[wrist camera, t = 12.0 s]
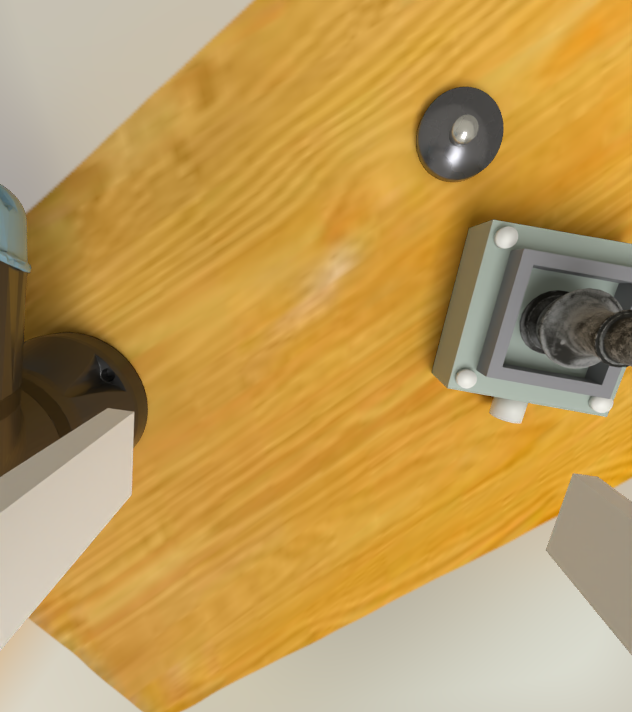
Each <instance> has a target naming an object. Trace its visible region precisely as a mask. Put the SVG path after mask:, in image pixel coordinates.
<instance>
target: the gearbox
mask: <svg viewBox="0 0 632 712" xmlns="http://www.w3.org/2000/svg"><path fill="white" fill-rule="evenodd" d="M586 288H592V289H598V290H602V291H604V292H607V293H609V294H611V295H612V296H613V297H614V298H615V299H616V300H617V301H618V302H619V304H620V306H621V307H622V309H623V310H632V244H629V243H623V242H617V241H612V240H606V239H600V238H595V237H589V236H583V235H578V234H572V233H566V232H561V231H555V230H549V229H544V228H538V227H532V226H527V225H521V224H515V223H510V222H504V221H498V220H491V221H488V222H485V223H482V224H479V225H476V226H474V227H471V228H469V230H468V234H467V238H466V242H465V246H464V250H463V254H462V257H461V261H460V265H459V269H458V273H457V277H456V281H455V284H454V288H453V292H452V296H451V300H450V304H449V308H448V312H447V315H446V319H445V323H444V327H443V331H442V335H441V339H440V343H439V346H438V350H437V354H436V358H435V362H434V366H433V370H432V374H433V375H434V376H435V377H436V378H437V379H439V380H440V381H441V382H442V383H443V384H444V385H445V386H446V387H447V388H449V389H455V390H460V391H466V392H471V393H477V394H482V395H488V396H494V398H493V402H492V405H491V408H490V412H489V413H490V414H491V415H493V416H494V417H496V418H498V419H501V420H504V421H507V422H511V423H521V422H522V419H523V416H524V413H525V410H526V407H527V404H528V403H532V404H538V405H543V406H549V407H555V408H560V409H566V410H571V411H577V412H582V413H588V414H593V415H599V416H604V417H607V415H608V413H609V410H610V409H611V408H612V406H613V400H614V397H615V395H616V392H617V390H618V387H619V384H620V382H621V379H622V377H623V374H624V372H625V369H626V367H620V368H618V367H612V366H609V365H607V364H605V363H603V362H602V361H601V362H599V363H597V364H595V365H592V366H589V367H586V368H578V369H573V368H566V367H563V366H561V365H558V364H556V363H554V362H553V361H552V360H551V359H549V358H548V357H547V355H546V354H541V353H538V352H536V351H533V350H532V349H530V348H529V347H528V346H527V345H526V344H525V343H524V341H523V339H522V337H521V334H520V319H521V316H522V313H523V311H524V310H525V308H526V306H527V305H528V304H529V303H530V302H531V301H532V300H533V299H534V298H536V297H537V296H539V295H540V294H543V293H546V292H548V291H555V290H560V291H567V292H572V291H575V290H577V289H586Z"/></svg>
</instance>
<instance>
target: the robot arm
mask: <svg viewBox="0 0 632 712" xmlns="http://www.w3.org/2000/svg"><path fill="white" fill-rule="evenodd" d="M30 271H31V265H30V264H29V263H28V258H27V218H26V214H25V211H24V208H23V206H22V204H21V203H20V201H19V200H18V199H17V198H16V196H15V195H14V194H13V193H11V191H9V190H8V189H7V188H6V187H4V186H2V185H1V184H0V650H1V649H2V648H3V647H4V646H5V645H6V643H7V642H8V641H9V640H10V639H11V637H12V636H13V635H14V634H15V633H16V631H17V630H18V629H19V628H20V627H21V626H22V624H23V623H24V622H25V621H26V620H27V618H28V617H29V616H30V615H31V614H32V613H33V611H34V610H35V609H36V608H37V607H38V605H39V604H40V603H41V602H42V601H43V599H44V598H45V597H46V596H47V595H48V594H49V592H50V591H51V590H52V589H53V588H54V586H55V585H56V584H57V583H58V582H59V580H60V579H61V578H62V577H63V576H64V574H65V573H66V572H67V571H68V570H69V569H70V567H71V566H72V565H73V564H74V563H75V561H76V560H77V559H78V558H79V557H80V555H81V554H82V553H83V552H84V551H85V550H86V548H87V547H88V546H89V545H90V544H91V542H92V541H93V540H94V539H95V538H96V536H97V535H98V534H99V533H100V532H101V531H102V529H103V528H104V527H105V526H106V525H107V523H108V522H109V521H110V520H111V519H112V517H113V516H114V515H115V514H116V513H117V512H118V510H119V509H120V508H121V507H122V506H123V504H124V503H125V502H126V501H127V500H128V498H129V497H130V496H131V495H132V468H133V448H134V447H135V445H136V444H137V443H138V441H139V440H140V438H141V436H142V434H143V432H144V429H145V426H146V421H147V399H146V394H145V391H144V388H143V385H142V383H141V380H140V378H139V377H138V375H137V373H136V371H135V370H134V368H133V367H132V366H131V364H130V363H129V362H128V361H127V360H126V359H125V358H124V357H123V356H122V355H121V354H120V353H119V352H118V351H117V350H115V349H114V348H113V347H111V346H110V345H108V344H106V343H105V342H103V341H101V340H99V339H96V338H94V337H91V336H88V335H84V334H79V333H70V332H64V333H55V334H50V335H45V336H40V337H36V338H33V339H30V340H27V341H25V342H24V324H25V302H26V285H27V272H28V273H30ZM546 551H547V552H548V553H549V555H550V556H551V557H552V558H553V559H554V561H555V562H556V563H557V565H558V566H559V567H560V568H561V569H562V571H563V572H564V573H565V574H566V575H567V577H568V578H569V579H570V580H571V582H572V583H573V584H574V585H575V587H576V588H577V589H578V590H579V591H580V592H581V594H582V595H583V596H584V598H585V599H586V600H587V601H588V602H589V604H590V605H591V606H592V607H593V608H594V610H595V611H596V612H597V613H598V615H599V616H600V617H601V618H602V620H604V622H605V623H606V624H607V625H608V627H609V628H610V629H611V630H612V631H613V633H614V634H615V635H616V637H617V638H618V639H619V640H620V641H621V643H622V644H623V645H624V646H625V648H626V649H627V650H628V651H629V652H630V654H631V655H632V502H631V501H630V500H629V499H627V498H626V497H624V496H623V495H622V494H620V493H619V492H618V491H616V490H615V489H614V488H612V487H611V486H609V485H608V484H607V483H605V482H604V481H603V480H601V479H600V478H599V477H595V476H588V475H581V474H573V475H572V478H571V481H570V483H569V486H568V489H567V492H566V495H565V498H564V500H563V503H562V506H561V509H560V512H559V514H558V517H557V520H556V523H555V526H554V529H553V531H552V534H551V537H550V540H549V543H548V545H547V548H546Z"/></svg>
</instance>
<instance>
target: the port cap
mask: <svg viewBox="0 0 632 712" xmlns="http://www.w3.org/2000/svg"><path fill="white" fill-rule="evenodd" d="M502 137H503V119H502V115H501V112H500V110H499V107H498V106H497V104H496V102H495V101H494V100H493V99H492V98H491V97H490V96H489V95H488V94H487V93H485V92H483V91H481V90H479V89H476V88H472V87H459V88H454V89H452V90H449V91H447V92H445V93H443V94H442V95H440V96H439V97H438V98H437V99H436V100H434V102H433V103H432V104H431V105H430V106H429V108H428V109H427V111H426V112H425V114H424V116H423V118H422V120H421V122H420V124H419V127H418V131H417V136H416V148H417V153H418V157H419V159H420V161H421V163H422V165H423V167H424V168H425V169H426V170H427V171H428V173H430V174H431V175H432V176H434V177H435V178H437V179H439V180H442V181H446V182H459V181H464V180H467V179H469V178H471V177H473V176H475V175H476V174H478V173H479V172H481V171H482V170H483V169H484V168H486V167H487V166H488V165H489V164H490V163H491V161H492V160H493V159H494V157H495V156H496V154H497V152H498V150H499V148H500V145H501V142H502Z"/></svg>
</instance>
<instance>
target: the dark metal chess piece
mask: <svg viewBox="0 0 632 712" xmlns="http://www.w3.org/2000/svg"><path fill="white" fill-rule="evenodd" d="M520 334H521V337H522V339H523V341H524V343H525V344H526V345H527V346H528V347H529V348H530V349H532V350H533V351H536V352H538V353H541V354H546V355H547V357H548V358H549V359H551V360H552V361H553V362H554V363H556V364H558V365H561V366H563V367H566V368H573V369H578V368H586V367H589V366H592V365H595V364H597V363H599V362H601V361H602V362H603V363H605V364H607V365H609V366H612V367H618V368H620V367H628V366H632V310H623V309H622V307H621V306H620V304H619V302H618V301H617V300H616V299H615V298H614V297H613V296H612V295H611V294H609V293H607V292H604V291H602V290H598V289H592V288H586V289H577V290H575V291H572V292H567V291H560V290H555V291H548V292H546V293H543V294H540V295H539V296H537V297H536V298H534V299H533V300H532V301H531V302H530V303H529V304H528V305H527V306H526V308H525V310H524V311H523V313H522V316H521V319H520Z"/></svg>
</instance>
